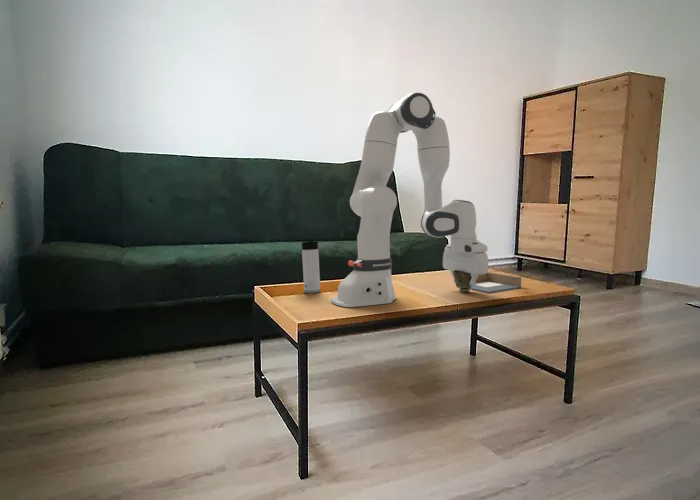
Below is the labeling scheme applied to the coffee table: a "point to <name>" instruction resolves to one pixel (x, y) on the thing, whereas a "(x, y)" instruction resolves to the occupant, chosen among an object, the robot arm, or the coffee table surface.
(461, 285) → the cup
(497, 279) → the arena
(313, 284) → the travel mug
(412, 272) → the coffee table surface
